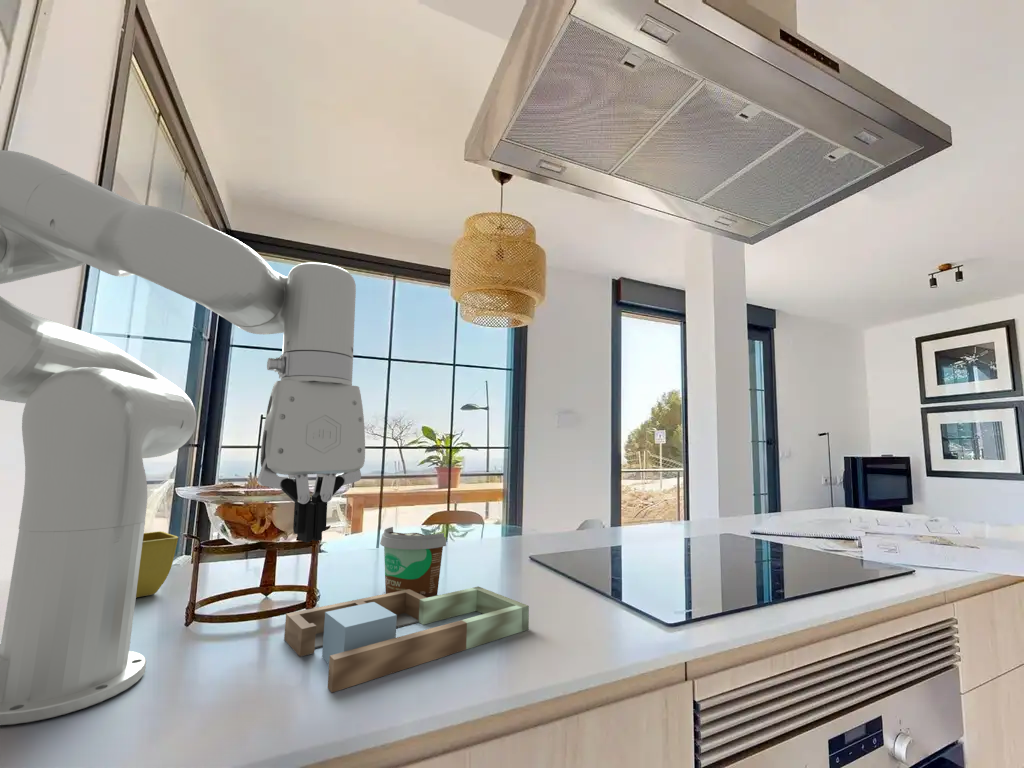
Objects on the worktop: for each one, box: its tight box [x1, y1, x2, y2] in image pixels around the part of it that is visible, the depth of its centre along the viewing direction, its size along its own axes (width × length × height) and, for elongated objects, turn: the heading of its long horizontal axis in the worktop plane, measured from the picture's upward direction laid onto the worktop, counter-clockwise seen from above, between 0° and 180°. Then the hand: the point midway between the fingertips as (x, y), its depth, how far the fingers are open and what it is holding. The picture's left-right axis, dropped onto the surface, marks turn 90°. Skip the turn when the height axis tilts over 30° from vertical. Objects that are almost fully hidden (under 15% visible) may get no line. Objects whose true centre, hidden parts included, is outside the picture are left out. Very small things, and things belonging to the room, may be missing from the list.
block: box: [321, 602, 397, 664], centre depth 53 cm, size 6×6×5 cm
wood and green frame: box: [283, 586, 530, 693], centre depth 60 cm, size 26×17×3 cm, turn 131°
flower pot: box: [136, 530, 179, 598], centre depth 74 cm, size 9×9×9 cm
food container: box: [379, 526, 447, 598], centre depth 77 cm, size 12×6×10 cm, turn 62°
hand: (309, 539), depth 51 cm, fingers closed
